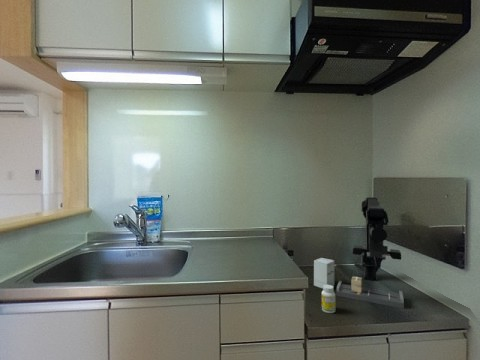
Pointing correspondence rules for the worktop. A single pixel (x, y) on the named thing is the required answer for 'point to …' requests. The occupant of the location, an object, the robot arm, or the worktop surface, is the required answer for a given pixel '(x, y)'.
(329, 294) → the supplement bottle
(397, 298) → the fader console
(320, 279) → the supplement box
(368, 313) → the worktop surface
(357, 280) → the fader knob
